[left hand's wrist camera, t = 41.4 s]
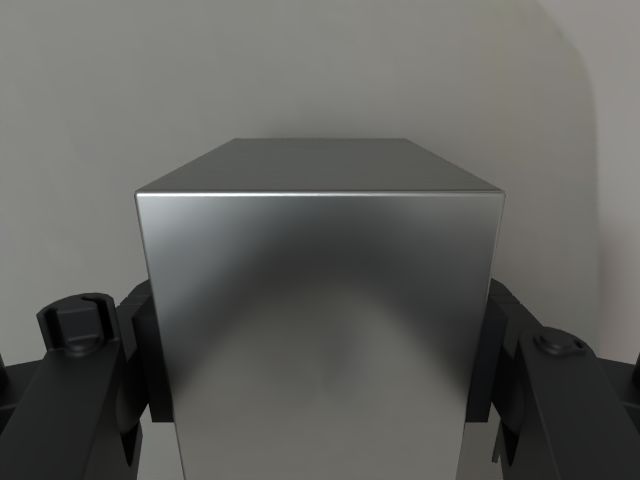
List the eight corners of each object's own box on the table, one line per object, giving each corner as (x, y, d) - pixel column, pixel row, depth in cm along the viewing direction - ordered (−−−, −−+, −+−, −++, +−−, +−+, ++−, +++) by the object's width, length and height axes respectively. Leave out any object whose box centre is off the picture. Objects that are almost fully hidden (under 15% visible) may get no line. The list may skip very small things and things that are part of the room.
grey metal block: (407, 138, 13) (509, 190, 6) (391, 331, 16) (449, 522, 9) (232, 138, 13) (130, 191, 6) (247, 331, 16) (190, 522, 9)
